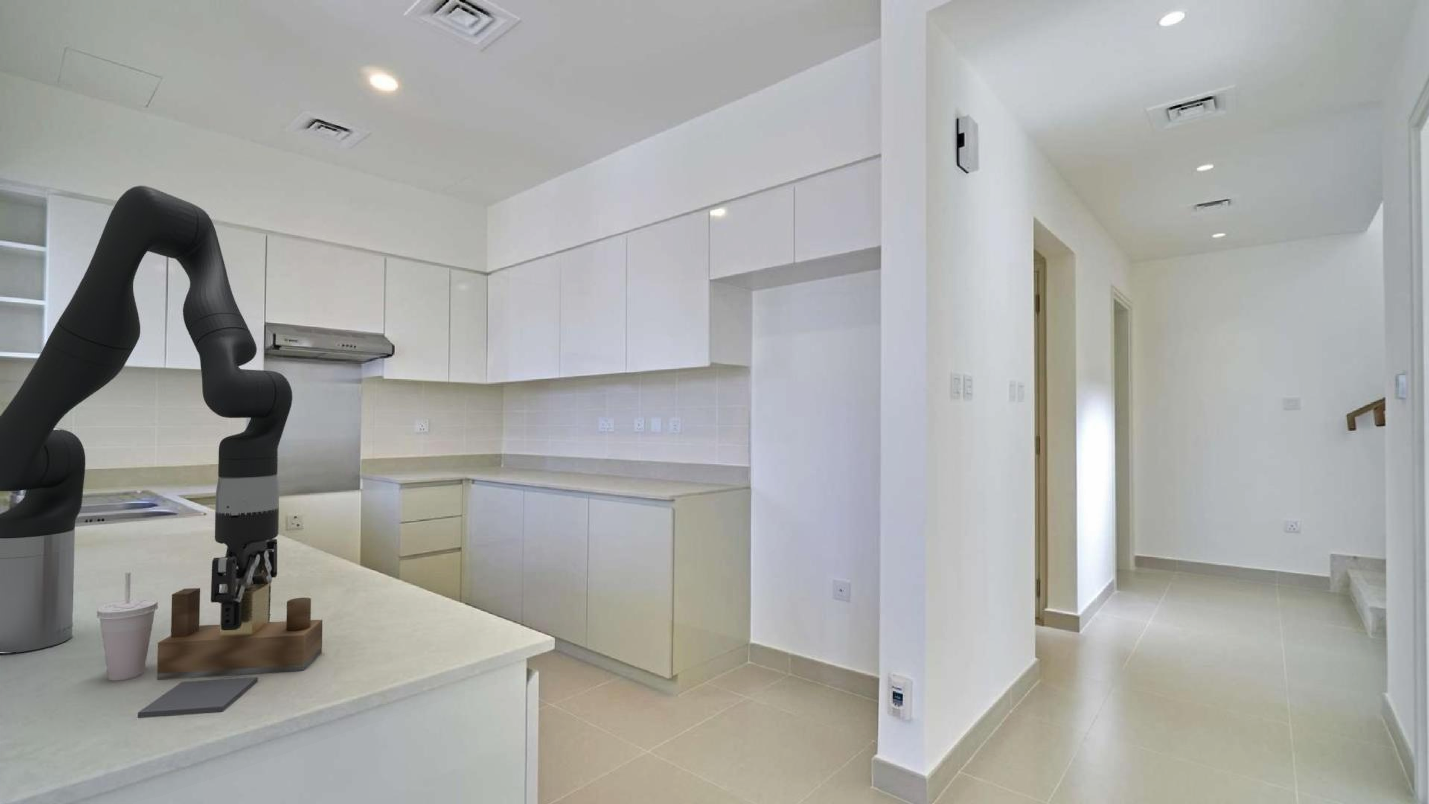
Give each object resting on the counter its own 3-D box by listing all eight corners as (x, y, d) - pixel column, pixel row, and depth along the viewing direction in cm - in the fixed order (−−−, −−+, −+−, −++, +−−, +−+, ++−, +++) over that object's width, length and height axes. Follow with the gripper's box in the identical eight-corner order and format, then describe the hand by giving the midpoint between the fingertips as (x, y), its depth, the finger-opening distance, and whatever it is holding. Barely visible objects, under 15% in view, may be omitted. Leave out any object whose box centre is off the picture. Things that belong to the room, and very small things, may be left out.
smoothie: (151, 662, 95) (153, 565, 95) (161, 674, 91) (164, 573, 91) (90, 675, 90) (93, 574, 90) (99, 688, 86) (101, 582, 86)
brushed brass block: (219, 637, 92) (220, 590, 92) (237, 625, 97) (238, 580, 97) (252, 635, 93) (252, 588, 93) (268, 624, 98) (269, 579, 98)
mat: (137, 717, 79) (137, 712, 79) (181, 686, 87) (181, 681, 87) (222, 711, 80) (222, 706, 80) (257, 681, 89) (257, 677, 89)
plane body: (156, 679, 89) (158, 598, 89) (186, 660, 96) (188, 585, 96) (303, 670, 93) (304, 592, 93) (321, 652, 100) (323, 580, 100)
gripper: (242, 500, 101) (241, 606, 101) (189, 515, 87) (187, 638, 87) (296, 499, 103) (295, 604, 103) (253, 514, 89) (251, 635, 89)
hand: (245, 619), depth 95 cm, fingers open, 8 cm apart
